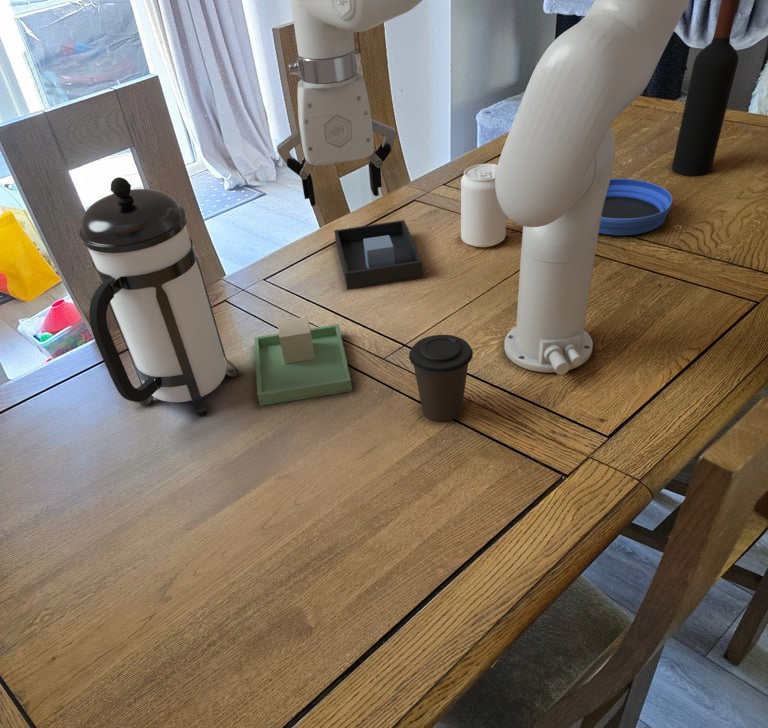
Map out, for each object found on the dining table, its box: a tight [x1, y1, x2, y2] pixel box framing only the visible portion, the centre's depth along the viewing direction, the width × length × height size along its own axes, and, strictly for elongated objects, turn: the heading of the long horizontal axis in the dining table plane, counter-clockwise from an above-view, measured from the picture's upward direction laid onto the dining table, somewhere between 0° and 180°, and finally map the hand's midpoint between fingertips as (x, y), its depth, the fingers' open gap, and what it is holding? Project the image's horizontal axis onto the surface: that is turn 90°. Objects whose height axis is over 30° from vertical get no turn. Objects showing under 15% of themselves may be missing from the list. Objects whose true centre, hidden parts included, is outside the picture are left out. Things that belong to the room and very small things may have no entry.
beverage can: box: [460, 163, 508, 248], centre depth 123 cm, size 8×8×12 cm
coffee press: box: [79, 177, 239, 416], centre depth 90 cm, size 17×16×30 cm
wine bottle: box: [671, 0, 739, 177], centre depth 131 cm, size 8×8×30 cm
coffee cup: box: [408, 334, 474, 423], centre depth 90 cm, size 8×8×10 cm
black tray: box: [334, 219, 424, 290], centre depth 124 cm, size 17×13×3 cm
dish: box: [253, 323, 353, 407], centre depth 103 cm, size 15×13×2 cm
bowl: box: [598, 178, 673, 237], centre depth 128 cm, size 18×18×4 cm
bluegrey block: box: [363, 235, 395, 269], centre depth 121 cm, size 5×5×5 cm
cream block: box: [277, 316, 315, 364], centre depth 104 cm, size 5×5×5 cm
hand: (343, 197), depth 105 cm, fingers open, 9 cm apart
